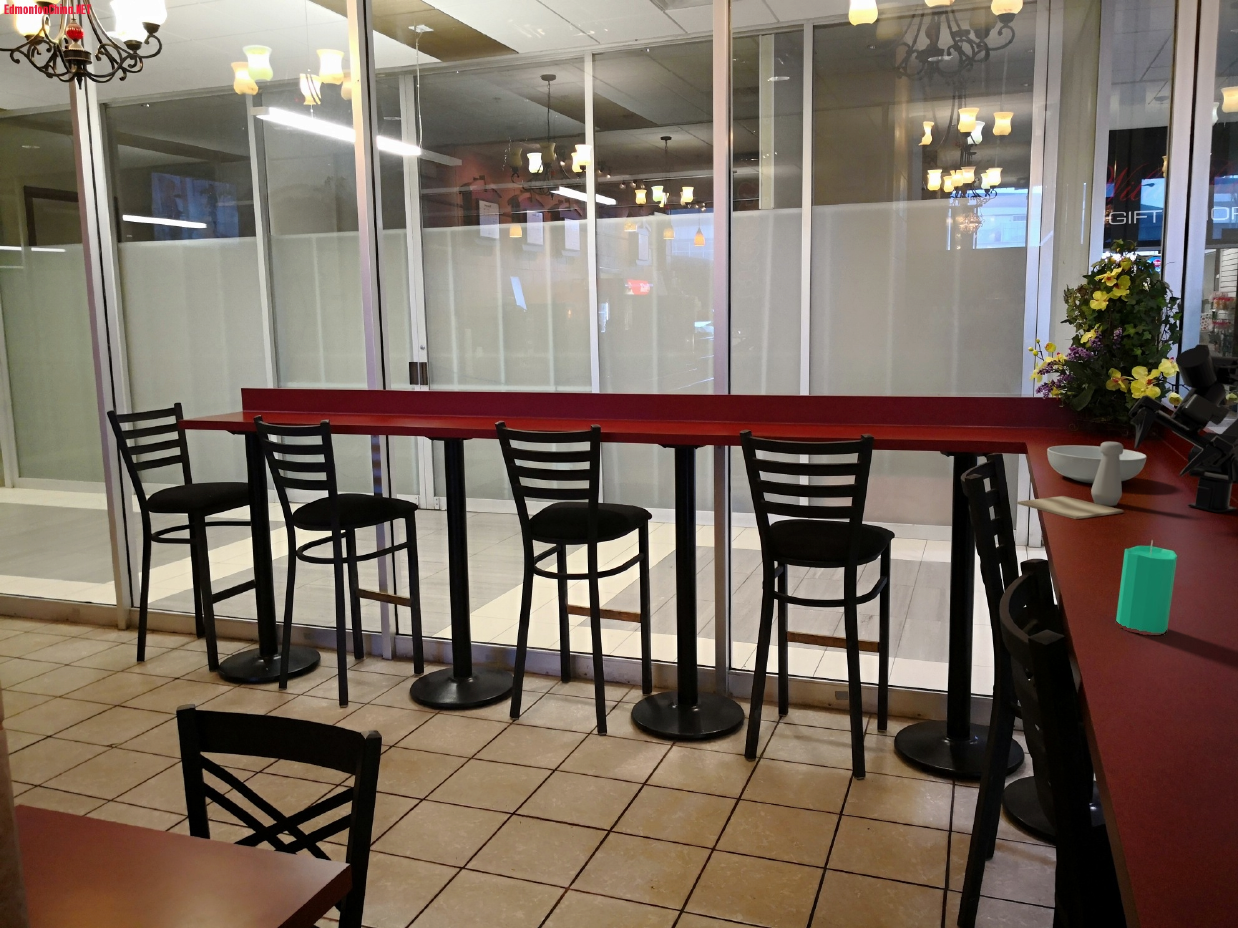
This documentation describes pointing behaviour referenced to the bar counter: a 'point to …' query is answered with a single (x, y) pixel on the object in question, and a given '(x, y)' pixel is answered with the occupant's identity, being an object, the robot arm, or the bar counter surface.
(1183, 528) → the bar counter surface
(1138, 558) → the candle
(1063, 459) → the serving bowl
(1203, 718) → the bar counter surface
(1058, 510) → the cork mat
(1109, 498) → the salt shaker
